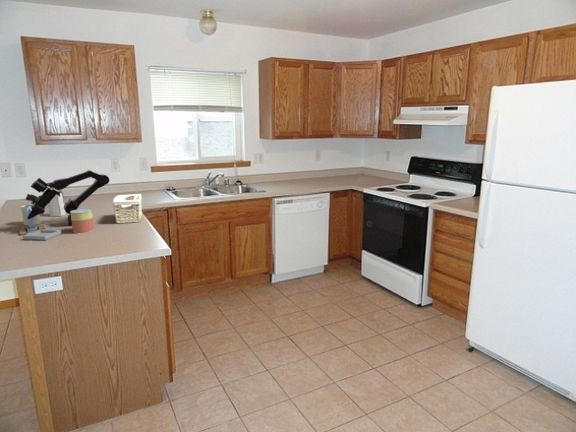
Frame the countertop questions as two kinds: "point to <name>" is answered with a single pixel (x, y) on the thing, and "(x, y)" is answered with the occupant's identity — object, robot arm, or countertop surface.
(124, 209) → the storage basket
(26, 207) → the tall blue pillar
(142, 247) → the countertop surface
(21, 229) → the slot
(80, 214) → the canned food
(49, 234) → the tray
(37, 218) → the can
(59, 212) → the skincare box
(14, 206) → the countertop surface
